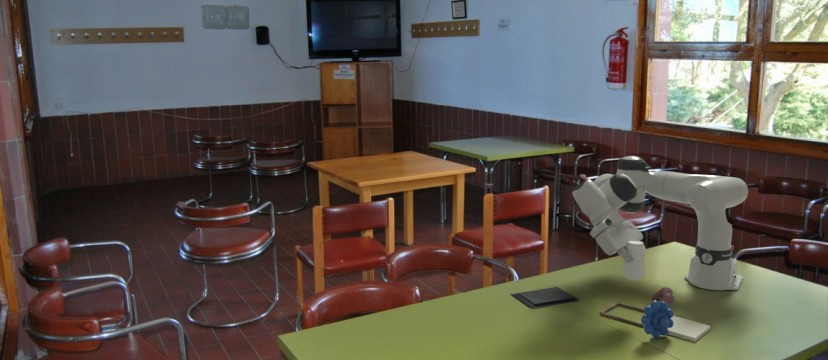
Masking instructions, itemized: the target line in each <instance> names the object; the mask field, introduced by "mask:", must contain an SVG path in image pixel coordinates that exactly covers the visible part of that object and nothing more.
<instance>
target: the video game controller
mask: <svg viewBox="0 0 828 360" xmlns="http://www.w3.org/2000/svg"><path fill="white" fill-rule="evenodd" d="M651 299H652V301H654V300H656V301H658V300H659V301H658V302H659V303H660V302H666V303H667V304H668V306H670V305H671V304H672V303H674V302H675V295H674V291H673V289H672V288H671V287H668V286H664V287H662V288H660V289H659V290H658V291H656V292H655V293H653V294H652V295H651Z"/></svg>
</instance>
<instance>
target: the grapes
mask: <svg viewBox="0 0 828 360" xmlns="http://www.w3.org/2000/svg"><path fill="white" fill-rule="evenodd" d="M643 309H644V312H643V313H644V315H642V316H641V318H640V323H642V324H644V327H643V331H644V333H646V334H647V335H651V336H652V338H654V339H659V338H660V337H661V336H664V337H665V336H668V335H669V334H668V328H671V327H673V325H674V323H673V320H672V319H670V318H672V317H673V316H675V315H674V311H673V310H672V309H671V308H669V305H668V304H667V303H666V302H660V303H659V301H658V300H652V302H651V303H650V305H645V306H644V308H643Z"/></svg>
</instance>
